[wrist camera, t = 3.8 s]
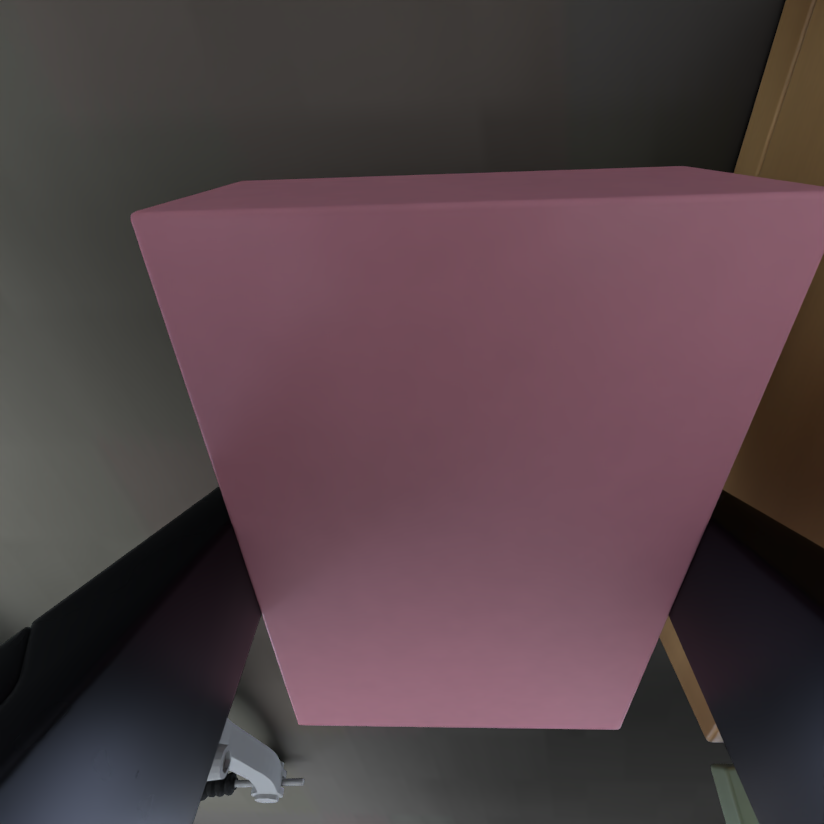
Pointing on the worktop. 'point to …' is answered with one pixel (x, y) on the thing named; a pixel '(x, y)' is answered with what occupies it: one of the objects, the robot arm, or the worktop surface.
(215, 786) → the bike brake
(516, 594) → the pink rectangular block
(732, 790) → the lid
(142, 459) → the worktop surface
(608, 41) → the worktop surface
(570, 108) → the worktop surface
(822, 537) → the box
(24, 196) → the worktop surface
